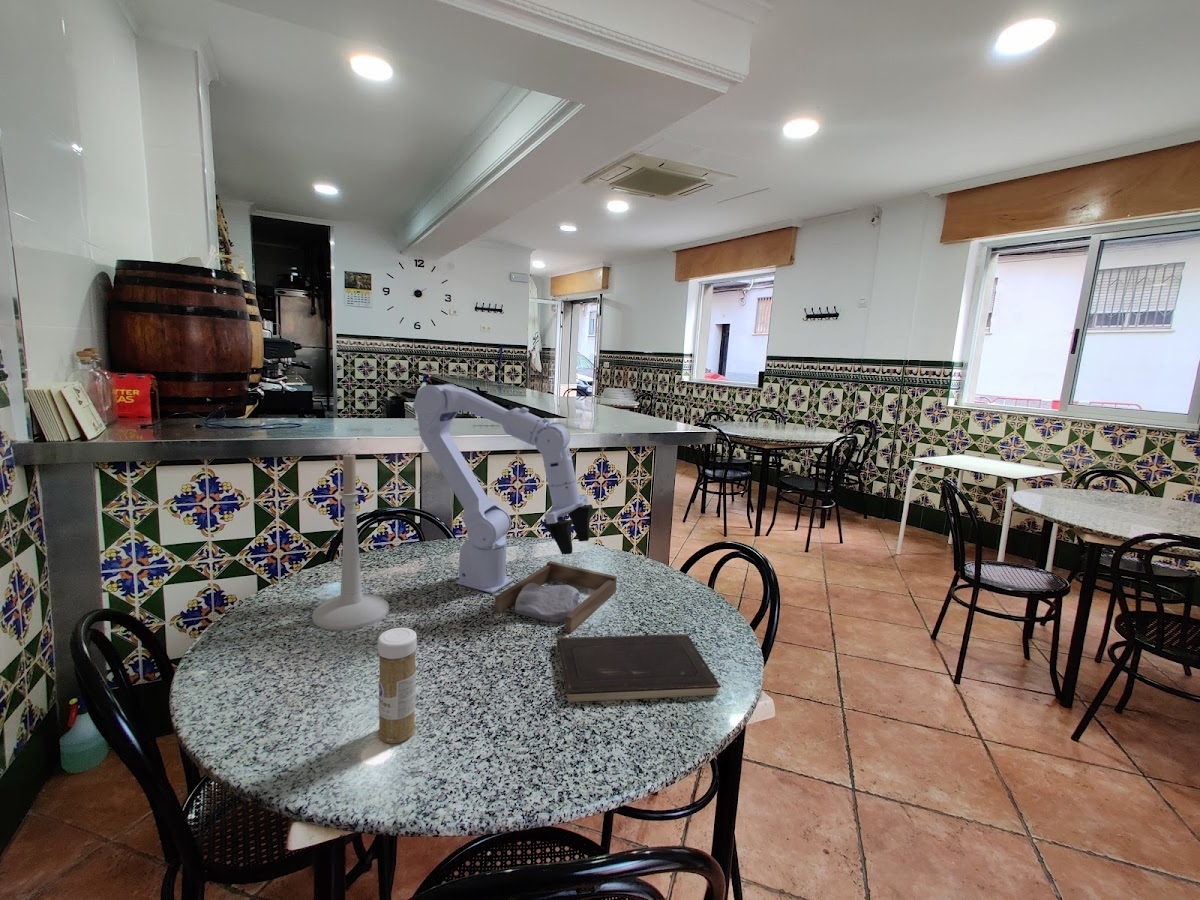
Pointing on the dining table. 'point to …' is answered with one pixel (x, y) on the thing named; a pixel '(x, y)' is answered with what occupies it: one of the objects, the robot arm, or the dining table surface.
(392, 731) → the sprinkles bottle
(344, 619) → the candlestick
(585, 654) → the hardcover book
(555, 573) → the shelf lane
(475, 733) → the dining table surface
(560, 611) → the stone block
